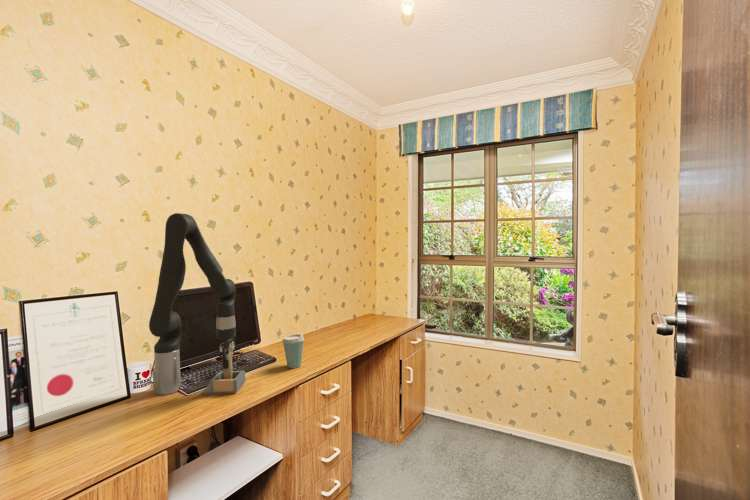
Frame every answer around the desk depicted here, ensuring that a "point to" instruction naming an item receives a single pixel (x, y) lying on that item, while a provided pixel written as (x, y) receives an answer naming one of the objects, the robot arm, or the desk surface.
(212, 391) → the socket
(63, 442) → the desk surface
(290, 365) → the disposable coffee cup
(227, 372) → the handle
